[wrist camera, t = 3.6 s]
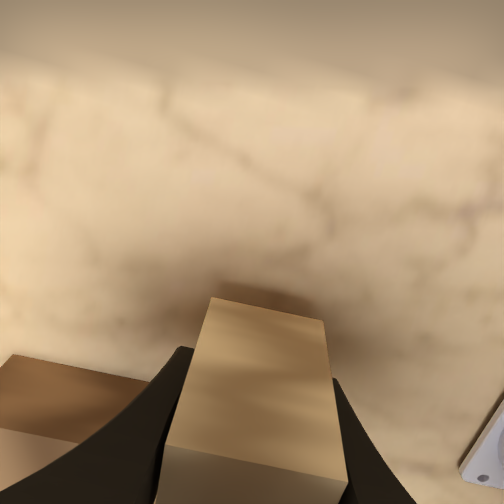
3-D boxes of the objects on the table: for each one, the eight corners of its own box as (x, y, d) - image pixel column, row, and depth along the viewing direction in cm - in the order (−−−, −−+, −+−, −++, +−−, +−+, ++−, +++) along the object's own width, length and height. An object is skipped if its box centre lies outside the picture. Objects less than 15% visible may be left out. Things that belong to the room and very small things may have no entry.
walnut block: (206, 388, 19) (189, 465, 15) (182, 505, 22) (163, 589, 19) (17, 349, 18) (-47, 418, 15) (25, 474, 22) (-25, 553, 19)
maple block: (322, 320, 14) (348, 482, 8) (295, 402, 16) (301, 581, 10) (211, 296, 14) (165, 444, 8) (195, 382, 16) (148, 550, 10)
